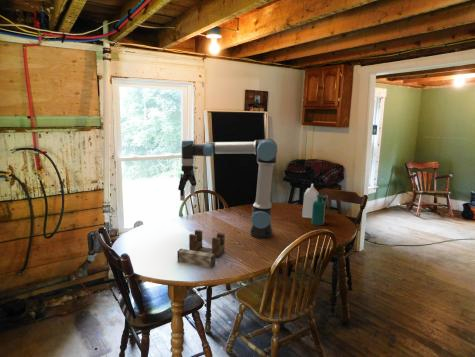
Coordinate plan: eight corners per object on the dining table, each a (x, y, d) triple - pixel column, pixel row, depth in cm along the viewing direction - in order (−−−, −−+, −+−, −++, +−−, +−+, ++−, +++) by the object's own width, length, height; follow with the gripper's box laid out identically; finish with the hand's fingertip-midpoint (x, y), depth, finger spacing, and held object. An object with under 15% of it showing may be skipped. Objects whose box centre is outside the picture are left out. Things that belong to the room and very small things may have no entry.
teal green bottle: (311, 224, 247) (313, 195, 243) (313, 221, 255) (315, 193, 251) (324, 226, 244) (326, 197, 239) (326, 223, 251) (328, 194, 247)
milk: (316, 218, 261) (319, 186, 256) (301, 217, 265) (304, 185, 260) (317, 214, 272) (320, 183, 267) (303, 213, 276) (305, 182, 271)
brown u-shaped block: (224, 251, 195) (224, 233, 193) (218, 258, 186) (218, 239, 184) (196, 247, 200) (196, 229, 198) (189, 253, 191) (189, 235, 189)
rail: (215, 264, 178) (215, 253, 177) (212, 267, 174) (212, 256, 173) (181, 258, 184) (180, 248, 182) (177, 261, 180) (177, 251, 179)
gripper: (191, 162, 220) (191, 193, 224) (172, 167, 197) (172, 201, 201) (201, 162, 218) (201, 194, 222) (183, 168, 195) (183, 203, 199)
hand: (187, 198), depth 211 cm, fingers open, 13 cm apart
